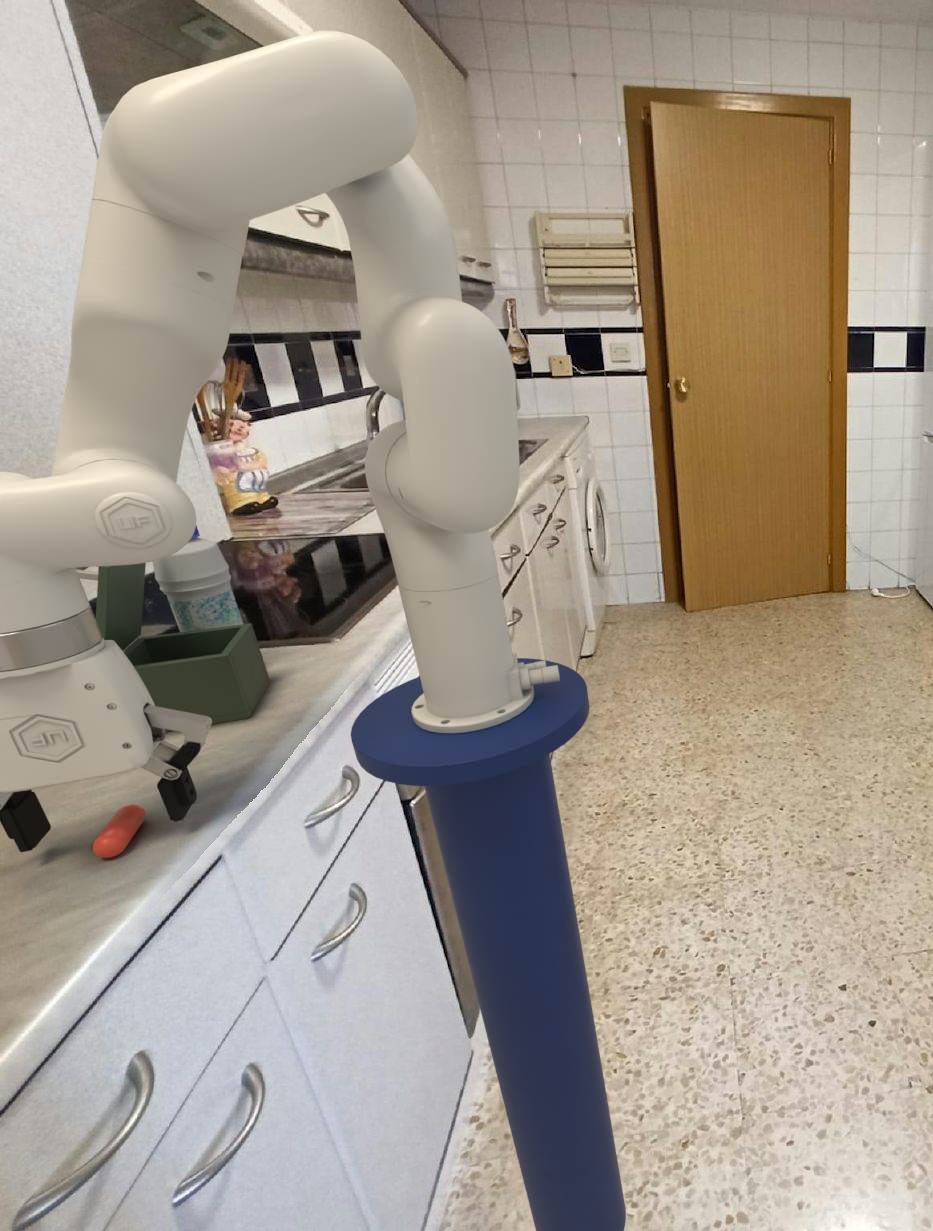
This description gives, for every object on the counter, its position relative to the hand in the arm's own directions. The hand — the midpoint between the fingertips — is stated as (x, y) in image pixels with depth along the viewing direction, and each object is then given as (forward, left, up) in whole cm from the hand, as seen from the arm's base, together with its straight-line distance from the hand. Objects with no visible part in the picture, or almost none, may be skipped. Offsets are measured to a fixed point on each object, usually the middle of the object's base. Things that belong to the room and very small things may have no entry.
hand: (112, 825), depth 60 cm
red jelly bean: (0, 0, -2) cm, 2 cm away
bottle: (+1, -34, -2) cm, 34 cm away
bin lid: (+4, -25, +12) cm, 28 cm away
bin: (+1, -25, -2) cm, 25 cm away
